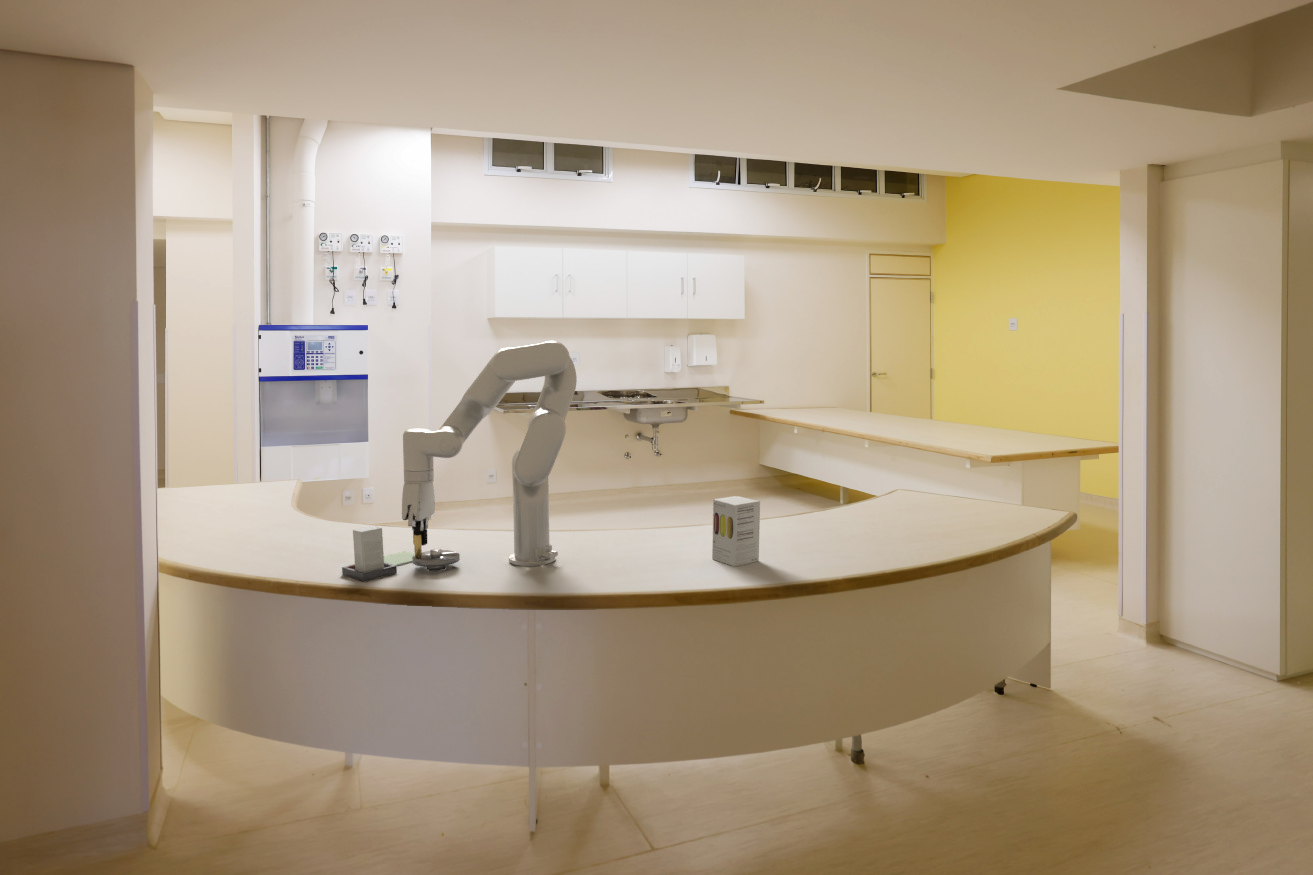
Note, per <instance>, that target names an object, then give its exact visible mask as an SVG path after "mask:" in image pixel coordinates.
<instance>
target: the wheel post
mask: <svg viewBox="0 0 1313 875" xmlns="http://www.w3.org/2000/svg"><path fill="white" fill-rule="evenodd" d="M446 569H447V565H446V566H439V567H426V570H427V571H429V572H440V571H444V570H446Z"/></svg>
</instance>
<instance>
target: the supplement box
mask: <svg viewBox="0 0 1313 875" xmlns="http://www.w3.org/2000/svg"><path fill="white" fill-rule="evenodd" d="M712 502H713V504H712V506H713V507H712V508H713V509H712V510H713V511H712V512H713V513H712V548H711V549H712V550H711V552H712V555H711V556H712V558H711V559H712V560H714V561H718V562H720V563H723V564H727V565H728V566H732V567H738V566H739V567H740V566H743V565H747V564H752V563H756V562H759V560H760V559H759V557H760V524H761V523H760V522H761V520H760V517H761V501H760V500H755V499H752V498H748V497H743V496H740V495H734V496H728V497H727V496H726V497H719V498H715V499H713V501H712Z"/></svg>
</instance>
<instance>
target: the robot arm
mask: <svg viewBox="0 0 1313 875" xmlns="http://www.w3.org/2000/svg"><path fill="white" fill-rule="evenodd" d="M542 377H544V382H543V385H542V388H541V391H540V394H539V397H538V400H537V402H536V404H535V407H534V410H533V411H532V413H531V416H530V417H529V419H528V423H527V431H526V433H525V436H524V438H523V441H522V444H521V446H520V447H519V448H518V449H517V450H516V451H515V453H514V454H513V456H512V461H511V473H512V475H511V476H512V496H513V497H512V498H513V499H512V500H513V506H512V507H513V508H512V509H513V510H512V511H513V544H514V545H513V548H514V549H513V550H514V553H511V554H510V555H509V556H508V562H509V563H510V564H512V565H516V566H522V567H536V566H544V565H547V564H548V565H549V564H551V563H553V562H554V561H555V560H556V557H558V555H559V552H558V551H556V550H553V544H551V543H550V490H549V486H550V485H549V476H550V475H551V472H552V470H553V468H554V465H555V463H556V460H557V457H558V455H559V453H560V450H561V448H562V445H563V443H564V441H565V436H566V432H567V431H566V430H567V426H566V418H567V416H568V412H569V410H570V407H571V404H572V402H573V399H574V396H575V391H576V389H577V382H578V381H577V371H576V367H575V364H574V362H573V360H572V358H571V356H570V352H569V350H568V348H567V347H566V346H565V345H564V344H563V343H561V342H560V341H555V340H547V341H542V342H540V343H535V344H534V343H533V344H530V345H522V346H516V347H502V348H501V349H499V350H498V351H496V352H495V353H494V355H493V356H492V357H491V358H490V360H489V361H488V362H487V364H486V365H485V366H484V368H482V370H481V371H480V373H478V376H477V377H476V378H475V379H474V380H473V382H472V383H471V385H470V386H469V387H468V388H467V390H466V391H465V393H464V394H463V396H462V397H461V399H460V401H459V403H458V404H456V407H454V409H453V410H452V412H451V413H450V415H449V416H448V417H447V418H446V419H445V421H444V422H443V423H442V425H441V426H440V427H439V429H437V430H434V431H432V430H430V429H428V428H410V429H406V430H404V432H403V434H402V450H403V451H402V454H403V456H402V458H403V487H402V494H401V495H402V496H401V498H402V499H401V519H402V520H403V521H407V526H408V527H411V531H412V533H413V534H412V535H413V536H412V537H413V542H412V543H413V544H414V535H417V534H420V535H421V545H422V546H423V547H424V546H425V545H428V528H429V521H430V520H431V519H432V516H433V515H434V514H435V510H436V509H435V508H436V501H435V499H436V498H435V489H434V487H435V486H434V481H435V479H434V478H435V475H434V474H435V472H434V468H435V467H434V457H435V458H441V459H443V458H444V459H451V458H454V457H456V456H458V455H459V454H460V452H461V451H462V448H463V445H464V443H465V442H466V441H467V439H468V438H469V437H470V436H471V434H472V432H474V430H475V429H476V427H478V425H479V424H480V423H481V422H482V420H483V419H485V418H486V417H488V416H489V415H490V414H491V413H492V412H493V411H494V410H495V409H496V407H497V406H498V405H499V403H500V402H501V400H502V399H503V398H504V397H505V396H506V394H507V393H508V392H509V391H510V389H511V387H512V386H513V385H514V384H515V382H517V381H523V380H524V381H525V380H530V379H535V378H542Z"/></svg>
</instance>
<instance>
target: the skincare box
mask: <svg viewBox="0 0 1313 875" xmlns="http://www.w3.org/2000/svg"><path fill="white" fill-rule="evenodd" d="M352 537H353V538H352V539H353V552H354V553H353V554H354V564H355V570H357V571H360V572H363V573H365V572H369V571H373V570H377V569H381V568H384V556H385V555H384V541H383V540H384V539H383V538H384V537H383V527H380V526H377V525H376V526H375V525H371V526H370V525H369V526H366V527H361V528H357V529H353V530H352Z"/></svg>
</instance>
